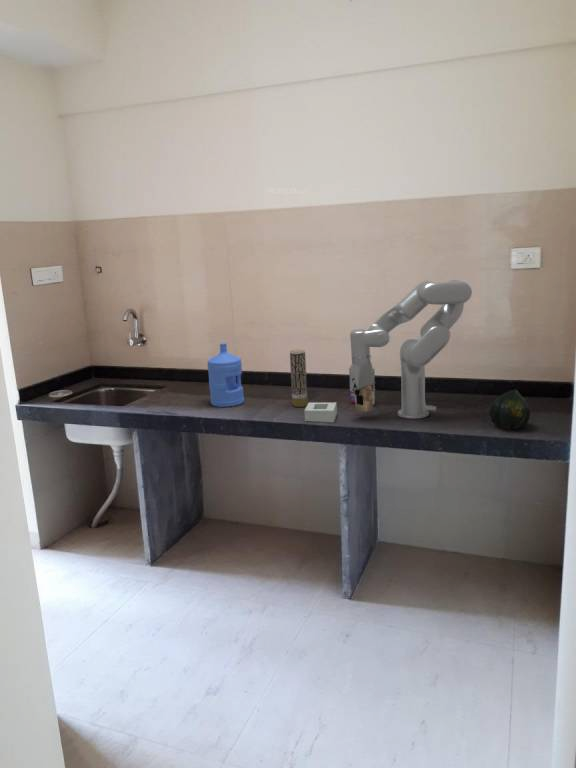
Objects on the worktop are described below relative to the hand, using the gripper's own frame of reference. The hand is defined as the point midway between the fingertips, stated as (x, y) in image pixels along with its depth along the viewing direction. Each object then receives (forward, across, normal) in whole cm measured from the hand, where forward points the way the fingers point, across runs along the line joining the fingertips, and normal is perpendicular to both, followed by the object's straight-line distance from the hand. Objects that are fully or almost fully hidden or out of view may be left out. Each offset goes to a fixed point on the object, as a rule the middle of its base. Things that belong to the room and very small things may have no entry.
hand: (363, 402), depth 262 cm
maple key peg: (+3, 0, 0) cm, 3 cm away
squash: (+9, -28, +49) cm, 57 cm away
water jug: (+4, +24, -65) cm, 69 cm away
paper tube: (+6, +5, -35) cm, 36 cm away
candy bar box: (+7, -15, -16) cm, 23 cm away
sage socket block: (+6, +12, -14) cm, 19 cm away
